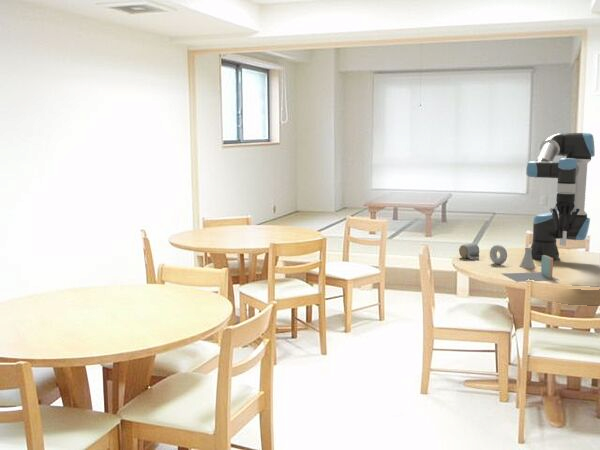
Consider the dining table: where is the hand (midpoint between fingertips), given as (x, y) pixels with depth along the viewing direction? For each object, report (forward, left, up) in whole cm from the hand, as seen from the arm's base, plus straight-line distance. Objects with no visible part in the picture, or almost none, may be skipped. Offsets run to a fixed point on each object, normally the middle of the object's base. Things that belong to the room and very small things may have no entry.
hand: (562, 245), depth 289 cm
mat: (+15, 0, -15) cm, 21 cm away
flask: (+6, -20, -15) cm, 26 cm away
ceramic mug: (+23, -48, -15) cm, 56 cm away
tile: (+7, 0, -14) cm, 16 cm away
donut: (+16, -31, -15) cm, 38 cm away
